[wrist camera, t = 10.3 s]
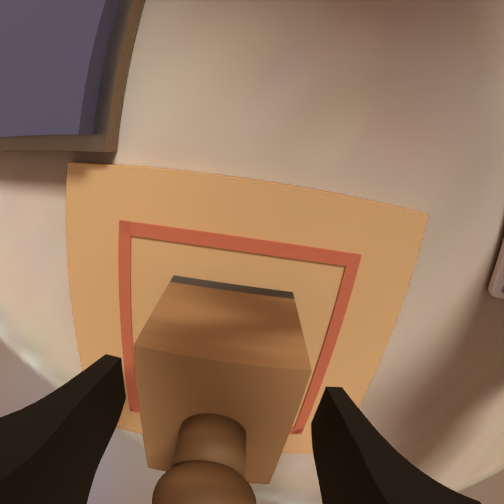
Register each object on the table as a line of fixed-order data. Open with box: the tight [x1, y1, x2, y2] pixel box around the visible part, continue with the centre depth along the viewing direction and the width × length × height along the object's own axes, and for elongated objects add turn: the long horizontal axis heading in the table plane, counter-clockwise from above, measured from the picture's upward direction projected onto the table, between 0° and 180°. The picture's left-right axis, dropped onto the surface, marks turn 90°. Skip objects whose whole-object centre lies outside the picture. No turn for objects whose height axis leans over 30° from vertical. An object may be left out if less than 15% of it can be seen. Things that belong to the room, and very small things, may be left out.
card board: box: [66, 162, 428, 454], centre depth 13 cm, size 14×14×1 cm
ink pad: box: [0, 0, 145, 152], centre depth 8 cm, size 9×11×2 cm
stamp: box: [133, 275, 312, 504], centre depth 9 cm, size 4×6×8 cm
